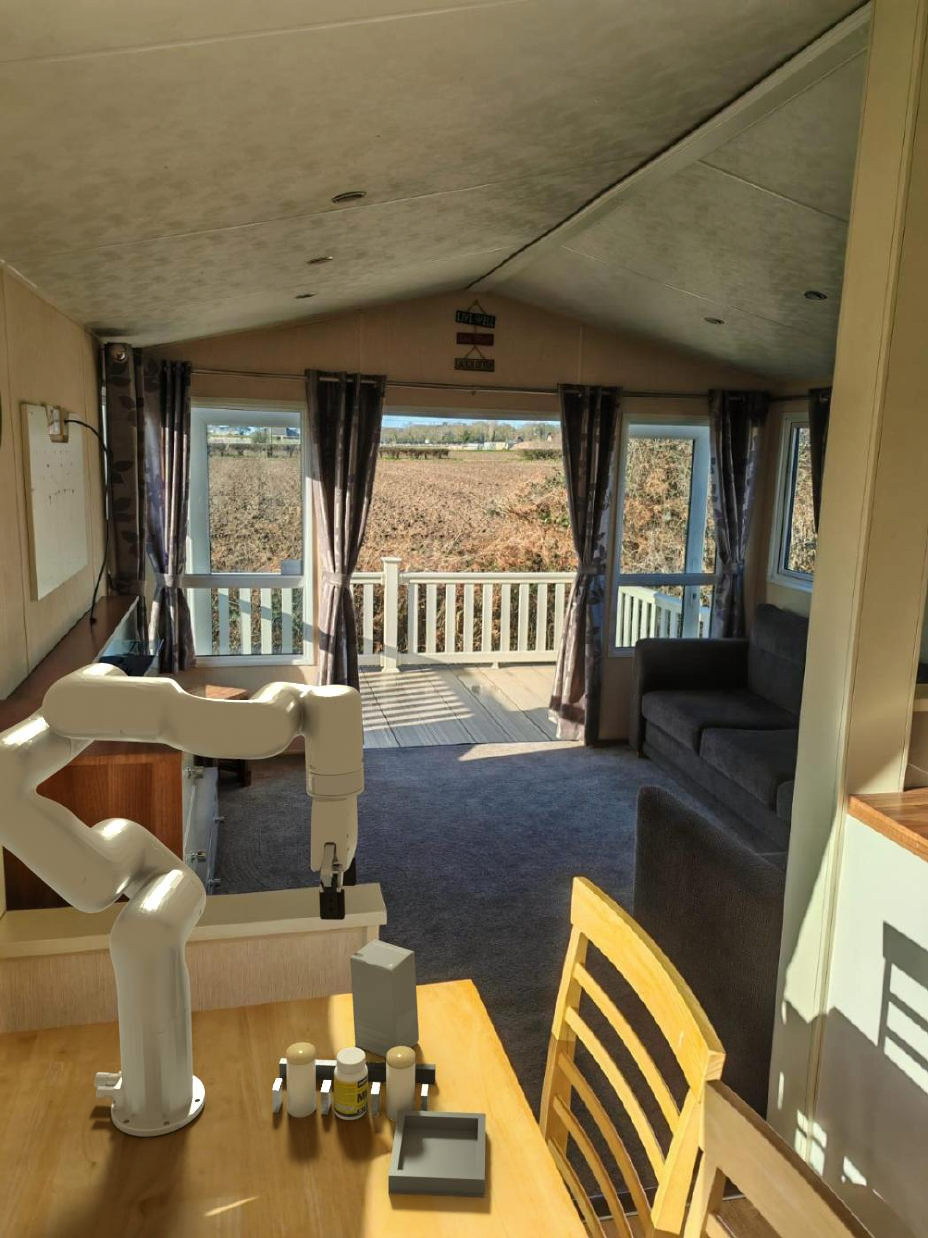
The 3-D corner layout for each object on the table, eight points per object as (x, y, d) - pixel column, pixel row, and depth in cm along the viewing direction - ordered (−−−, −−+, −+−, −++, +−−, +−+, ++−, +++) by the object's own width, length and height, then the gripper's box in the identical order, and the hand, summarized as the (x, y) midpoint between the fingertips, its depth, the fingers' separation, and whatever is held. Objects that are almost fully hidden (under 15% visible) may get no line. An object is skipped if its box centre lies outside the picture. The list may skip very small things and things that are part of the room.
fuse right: (384, 1121, 131) (384, 1063, 129) (387, 1101, 135) (388, 1045, 133) (413, 1122, 131) (413, 1064, 129) (415, 1102, 135) (416, 1046, 133)
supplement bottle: (361, 1124, 130) (361, 1068, 129) (329, 1118, 131) (328, 1063, 130) (371, 1101, 135) (372, 1047, 133) (340, 1096, 136) (340, 1043, 134)
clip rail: (267, 1112, 132) (267, 1089, 132) (281, 1073, 140) (281, 1052, 140) (431, 1118, 132) (432, 1096, 131) (435, 1079, 140) (435, 1058, 139)
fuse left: (284, 1117, 131) (283, 1059, 130) (290, 1097, 135) (289, 1042, 134) (312, 1118, 131) (312, 1060, 130) (318, 1098, 135) (317, 1043, 134)
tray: (388, 1193, 118) (388, 1175, 118) (398, 1126, 130) (398, 1110, 129) (484, 1197, 118) (484, 1179, 117) (485, 1130, 130) (485, 1113, 129)
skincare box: (419, 1043, 148) (420, 950, 146) (392, 1067, 143) (393, 970, 140) (377, 1025, 153) (377, 934, 150) (348, 1047, 147) (348, 953, 144)
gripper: (319, 759, 133) (323, 873, 136) (292, 803, 116) (297, 933, 119) (372, 759, 133) (375, 873, 135) (353, 803, 116) (357, 933, 118)
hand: (339, 901), depth 127 cm, fingers open, 9 cm apart
